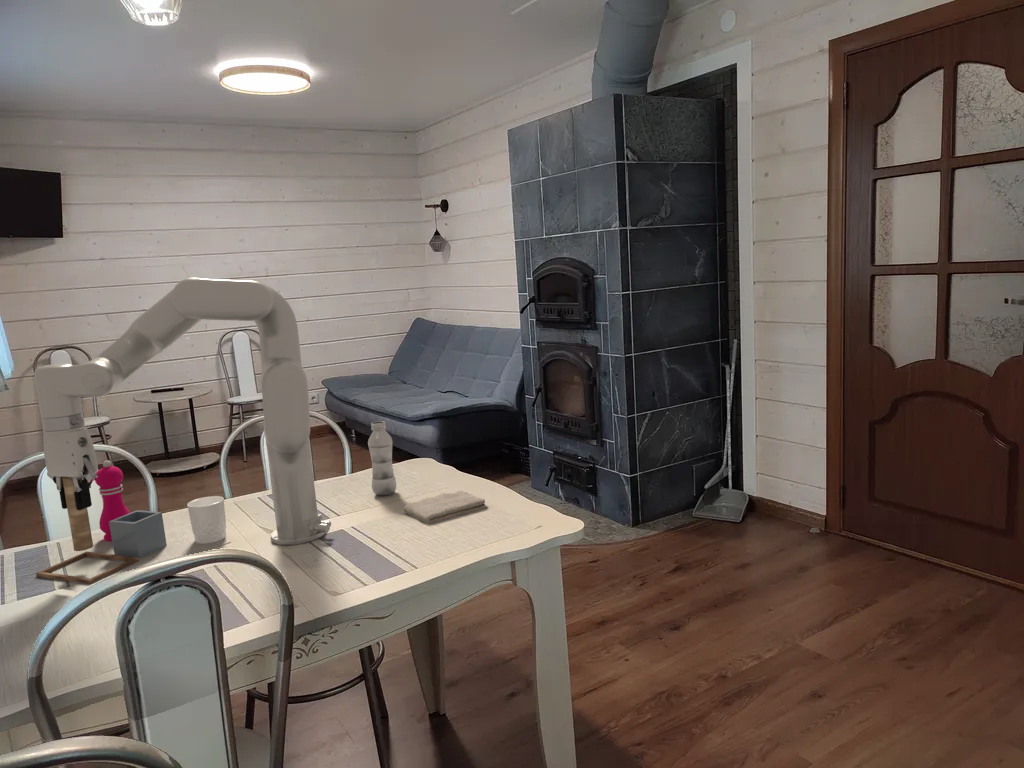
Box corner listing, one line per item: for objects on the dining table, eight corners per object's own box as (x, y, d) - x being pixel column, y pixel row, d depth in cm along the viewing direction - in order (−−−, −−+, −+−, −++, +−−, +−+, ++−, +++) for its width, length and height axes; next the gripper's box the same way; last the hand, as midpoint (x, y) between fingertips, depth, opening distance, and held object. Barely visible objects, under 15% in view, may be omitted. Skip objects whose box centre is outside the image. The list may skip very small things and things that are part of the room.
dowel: (97, 545, 159) (85, 473, 157) (82, 551, 156) (70, 478, 154) (85, 544, 161) (73, 473, 158) (70, 550, 157) (58, 477, 155)
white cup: (185, 547, 171) (179, 506, 170) (210, 534, 178) (204, 495, 177) (212, 549, 168) (206, 507, 167) (236, 537, 176) (230, 496, 174)
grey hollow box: (167, 549, 170) (161, 512, 169) (140, 562, 163) (133, 523, 162) (142, 546, 173) (137, 510, 172) (115, 559, 166) (108, 521, 165)
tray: (139, 565, 162) (138, 557, 162) (91, 588, 151) (89, 580, 151) (87, 558, 168) (86, 551, 168) (37, 581, 157) (35, 573, 157)
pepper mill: (128, 532, 184) (115, 455, 181) (141, 538, 180) (128, 458, 176) (97, 542, 179) (84, 462, 175) (110, 548, 174) (96, 466, 171)
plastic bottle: (376, 490, 205) (369, 420, 202) (400, 490, 204) (393, 419, 201) (369, 498, 199) (361, 425, 195) (393, 497, 198) (386, 424, 194)
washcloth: (489, 508, 185) (488, 496, 185) (427, 527, 175) (425, 514, 174) (463, 498, 195) (462, 487, 194) (403, 515, 184) (402, 503, 184)
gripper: (107, 420, 154) (120, 504, 157) (52, 418, 161) (66, 499, 164) (75, 428, 148) (89, 516, 150) (19, 426, 154) (33, 510, 157)
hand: (77, 506), depth 157 cm, fingers closed on dowel, 3 cm apart
